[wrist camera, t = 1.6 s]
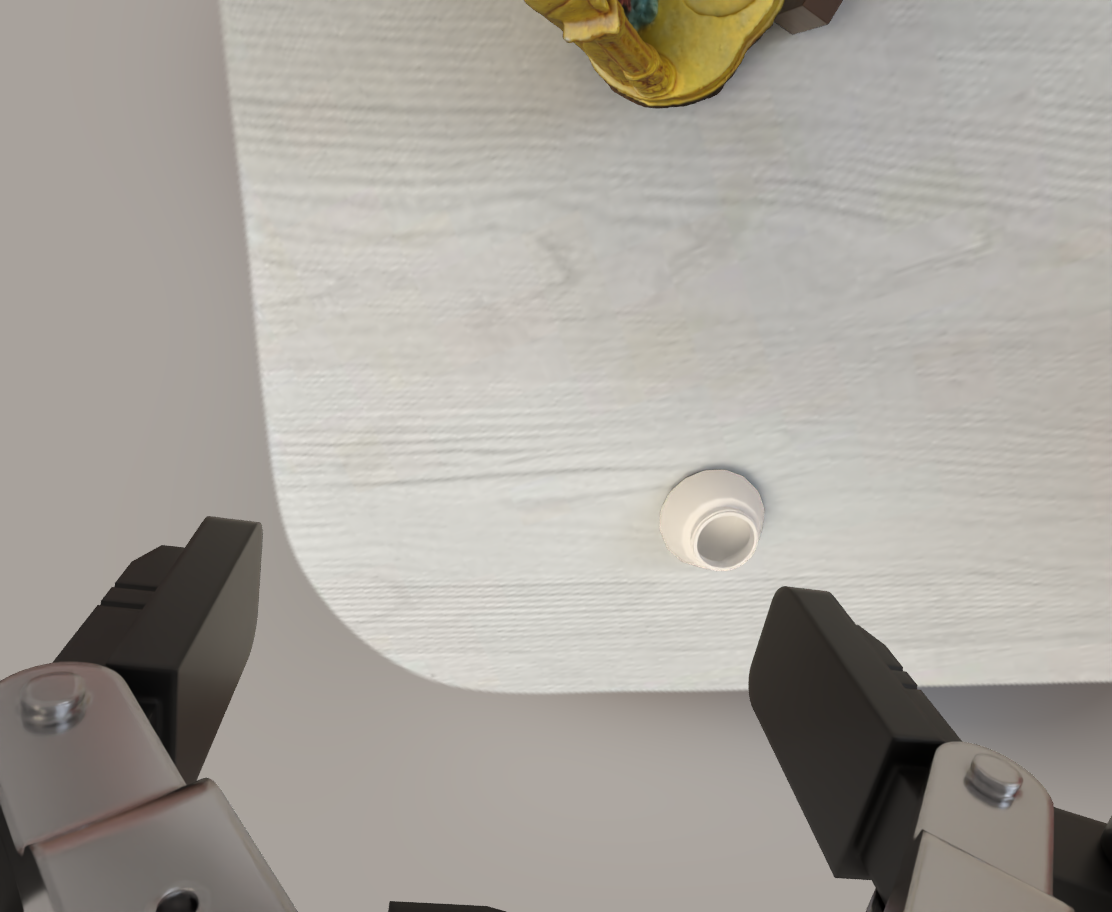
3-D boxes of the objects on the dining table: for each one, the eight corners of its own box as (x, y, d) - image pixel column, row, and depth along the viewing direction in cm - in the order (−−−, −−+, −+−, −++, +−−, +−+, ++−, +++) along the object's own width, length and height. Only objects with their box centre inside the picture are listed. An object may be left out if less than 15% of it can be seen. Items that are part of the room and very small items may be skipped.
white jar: (763, 464, 39) (660, 468, 39) (784, 489, 36) (674, 494, 36) (753, 556, 41) (655, 561, 40) (774, 587, 38) (668, 592, 38)
